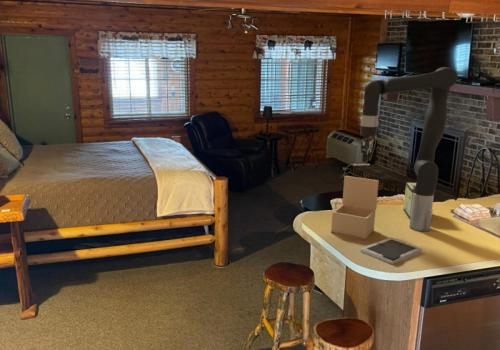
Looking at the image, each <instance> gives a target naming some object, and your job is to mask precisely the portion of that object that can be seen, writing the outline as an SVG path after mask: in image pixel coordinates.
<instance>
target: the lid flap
mask: <svg viewBox="0 0 500 350" xmlns="http://www.w3.org/2000/svg"><path fill="white" fill-rule="evenodd" d="M343 178H344V179H343V193H342V204H343V205H349V206H355V207H361V208H366V209H372V210H377V205H378V204H377V203H378V193H379V192H378V191H379V181H380V180H378V179H370V178H365V177H364V178H363V177H357V176H356V177H355V176H349V175H344V177H343ZM342 204H341V205H342Z"/></svg>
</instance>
